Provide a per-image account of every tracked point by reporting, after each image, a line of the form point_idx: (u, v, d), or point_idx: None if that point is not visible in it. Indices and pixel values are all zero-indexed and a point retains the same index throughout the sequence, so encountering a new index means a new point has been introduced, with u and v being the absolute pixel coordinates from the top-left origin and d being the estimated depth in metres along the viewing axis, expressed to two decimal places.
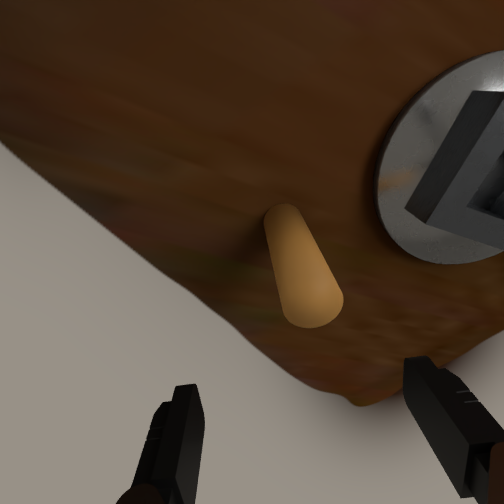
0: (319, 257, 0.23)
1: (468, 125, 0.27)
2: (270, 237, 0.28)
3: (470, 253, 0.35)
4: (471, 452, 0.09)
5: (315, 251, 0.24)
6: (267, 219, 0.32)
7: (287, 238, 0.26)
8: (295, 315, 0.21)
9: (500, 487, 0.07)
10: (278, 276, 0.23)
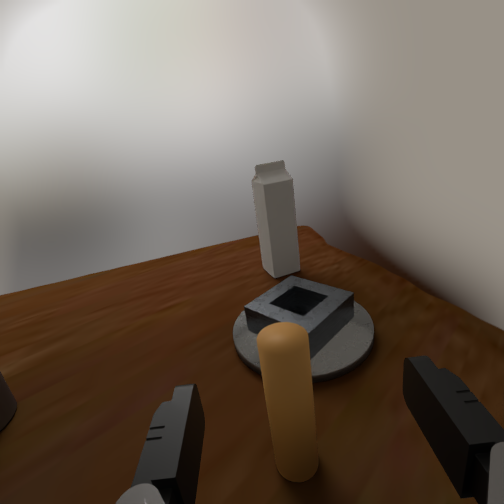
0: None
1: (259, 324, 0.45)
2: (276, 435, 0.27)
3: (364, 325, 0.45)
4: (471, 452, 0.09)
5: None
6: (279, 463, 0.29)
7: None
8: (288, 348, 0.24)
9: (500, 487, 0.07)
10: (270, 380, 0.25)
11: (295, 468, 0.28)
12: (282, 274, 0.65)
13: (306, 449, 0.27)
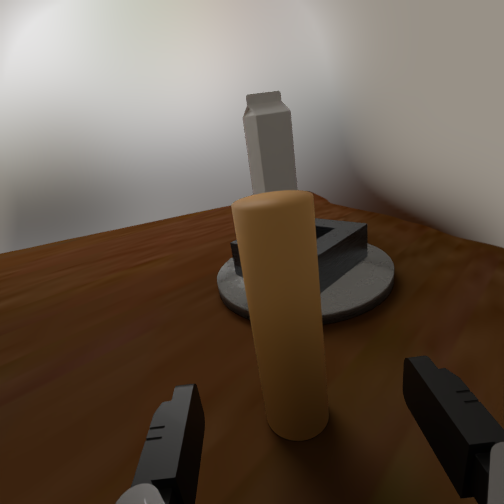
0: None
1: None
2: (265, 365, 0.18)
3: (382, 263, 0.35)
4: (471, 452, 0.09)
5: None
6: (271, 413, 0.19)
7: None
8: (280, 205, 0.15)
9: (500, 487, 0.07)
10: (253, 265, 0.15)
11: (294, 418, 0.18)
12: None
13: (311, 386, 0.18)
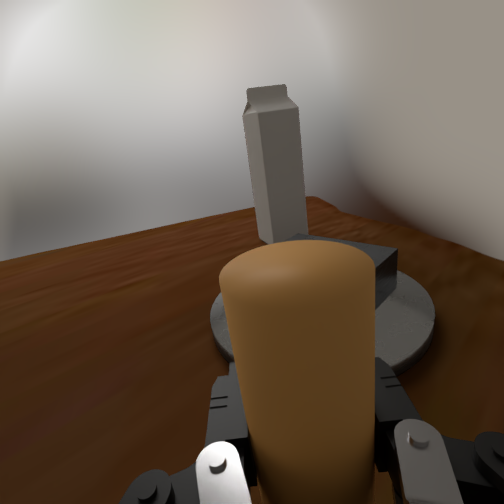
0: None
1: None
2: None
3: (417, 299, 0.28)
4: (382, 429, 0.10)
5: None
6: None
7: None
8: (316, 289, 0.07)
9: (408, 466, 0.08)
10: (260, 395, 0.08)
11: None
12: None
13: None
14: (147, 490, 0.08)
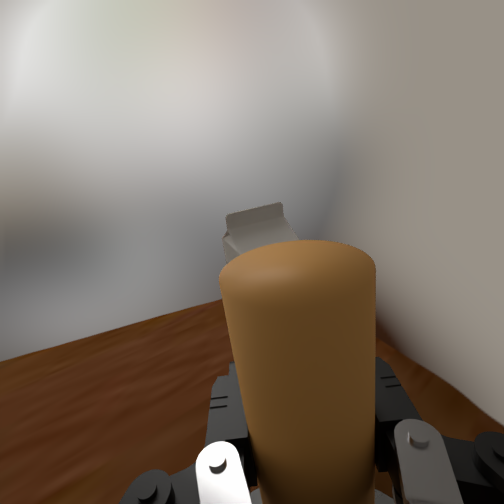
0: None
1: None
2: None
3: None
4: (382, 429, 0.10)
5: None
6: None
7: None
8: (316, 290, 0.07)
9: (408, 466, 0.08)
10: (260, 395, 0.08)
11: None
12: None
13: None
14: (147, 490, 0.08)
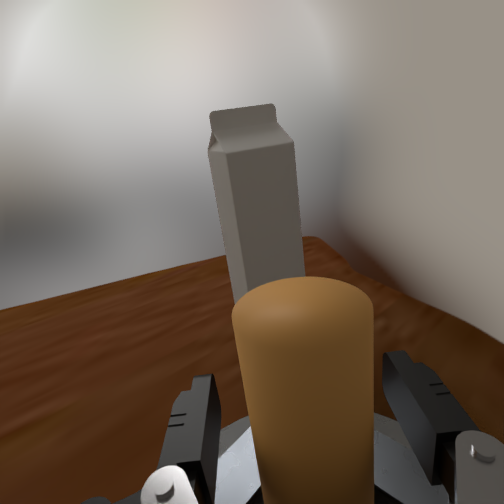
0: None
1: None
2: None
3: None
4: (439, 441, 0.09)
5: None
6: None
7: None
8: (320, 331, 0.08)
9: (467, 476, 0.08)
10: (269, 424, 0.09)
11: None
12: None
13: None
14: None
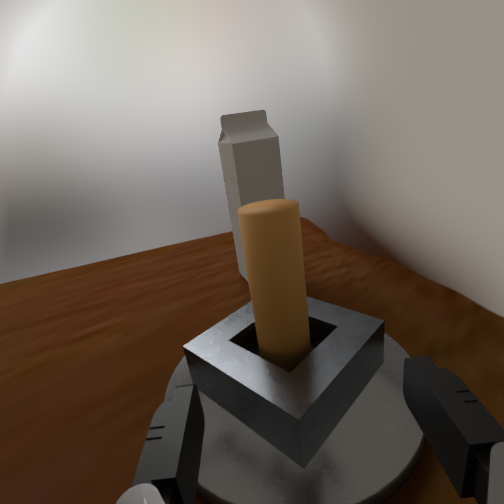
0: None
1: (209, 381, 0.24)
2: (263, 333, 0.23)
3: None
4: (471, 452, 0.09)
5: None
6: None
7: (250, 293, 0.23)
8: (274, 211, 0.20)
9: (500, 487, 0.07)
10: (253, 256, 0.21)
11: None
12: None
13: (297, 349, 0.23)
14: None
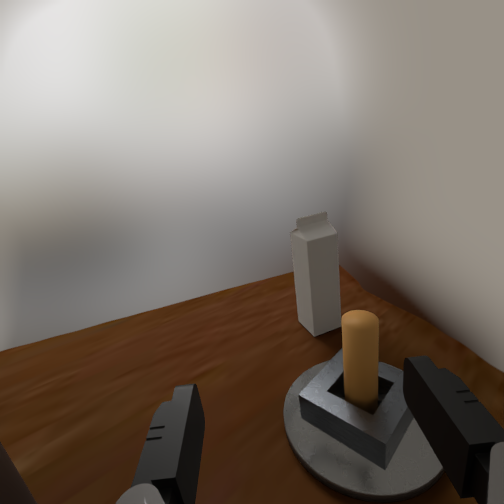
0: None
1: (317, 417, 0.39)
2: (352, 389, 0.39)
3: None
4: (471, 452, 0.09)
5: None
6: None
7: (343, 364, 0.39)
8: (366, 326, 0.35)
9: (500, 487, 0.07)
10: (352, 349, 0.36)
11: None
12: (322, 332, 0.60)
13: (373, 399, 0.39)
14: None
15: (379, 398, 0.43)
